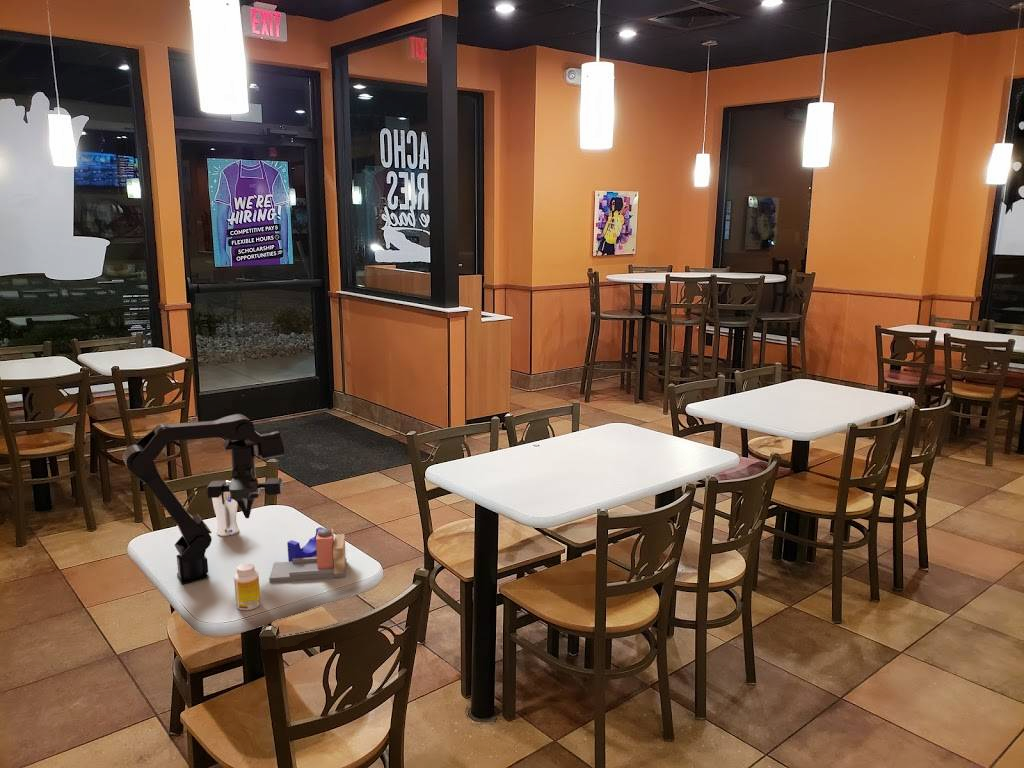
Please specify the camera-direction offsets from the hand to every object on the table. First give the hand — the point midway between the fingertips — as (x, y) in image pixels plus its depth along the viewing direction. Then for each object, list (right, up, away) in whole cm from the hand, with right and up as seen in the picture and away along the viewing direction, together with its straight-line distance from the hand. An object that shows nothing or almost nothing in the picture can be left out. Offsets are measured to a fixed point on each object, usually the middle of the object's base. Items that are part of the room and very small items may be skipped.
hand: (247, 517), depth 204 cm
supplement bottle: (+7, -18, -19) cm, 27 cm away
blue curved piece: (+14, -12, +8) cm, 20 cm away
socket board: (+17, -14, -2) cm, 22 cm away
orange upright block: (+22, -12, -2) cm, 25 cm away
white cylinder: (-14, -8, +22) cm, 27 cm away
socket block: (+25, -13, -1) cm, 28 cm away
